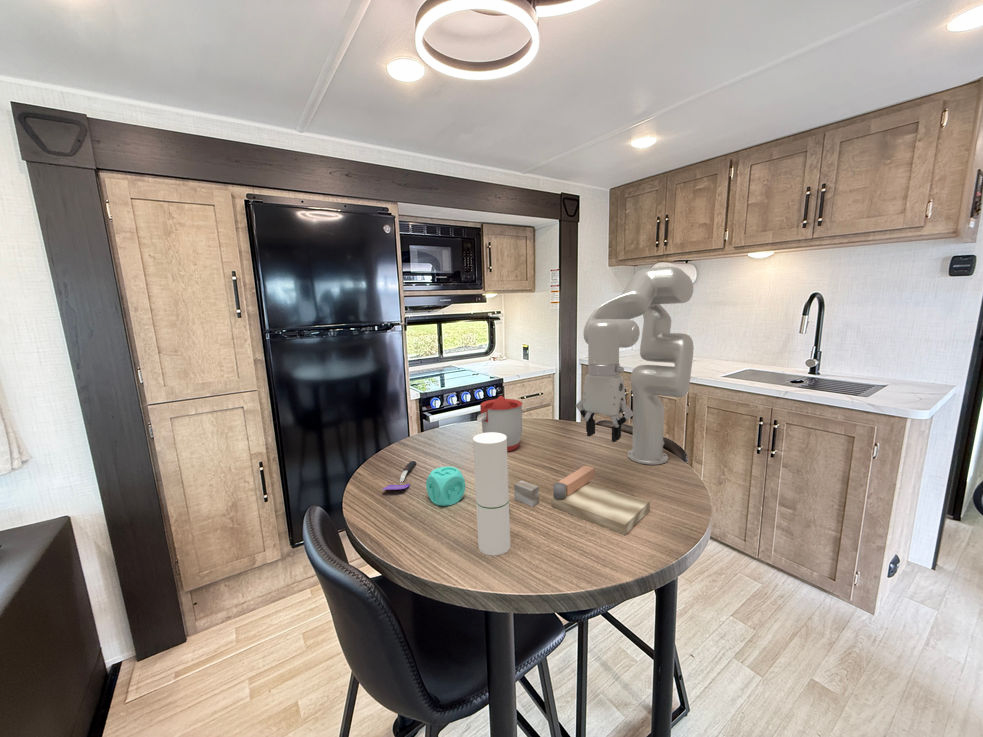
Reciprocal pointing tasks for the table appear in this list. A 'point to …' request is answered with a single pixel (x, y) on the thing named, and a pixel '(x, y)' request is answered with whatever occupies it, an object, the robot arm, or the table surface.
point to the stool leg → (573, 482)
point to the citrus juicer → (503, 419)
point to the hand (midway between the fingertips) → (603, 437)
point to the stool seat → (592, 505)
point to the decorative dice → (445, 486)
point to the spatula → (402, 477)
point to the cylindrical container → (492, 492)
